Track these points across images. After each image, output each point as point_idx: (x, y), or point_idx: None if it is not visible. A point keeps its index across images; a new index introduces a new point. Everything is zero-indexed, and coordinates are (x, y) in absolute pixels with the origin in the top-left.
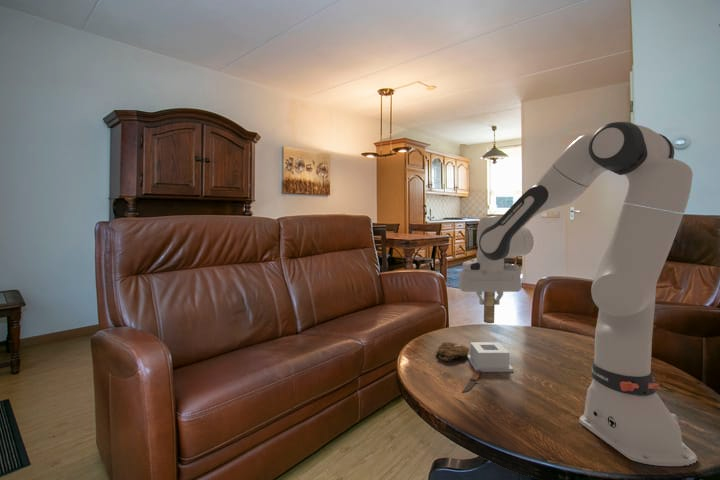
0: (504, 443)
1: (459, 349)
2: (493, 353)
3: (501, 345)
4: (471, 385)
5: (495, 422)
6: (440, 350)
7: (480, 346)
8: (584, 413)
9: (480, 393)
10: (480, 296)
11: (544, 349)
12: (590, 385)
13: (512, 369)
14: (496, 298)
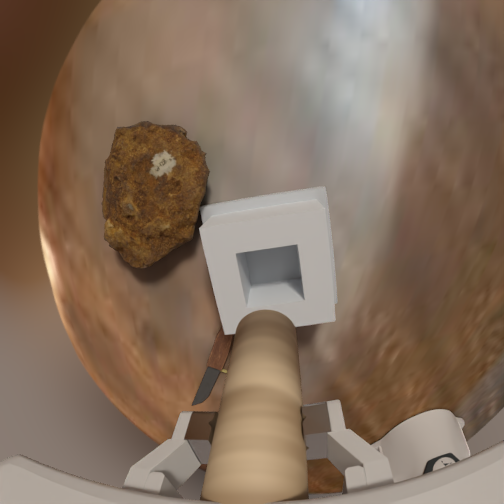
0: None
1: (166, 220)
2: None
3: (327, 248)
4: (210, 385)
5: None
6: (108, 241)
7: (237, 273)
8: (379, 449)
9: None
10: (176, 485)
11: (475, 98)
12: (395, 482)
13: (334, 302)
14: (329, 441)
